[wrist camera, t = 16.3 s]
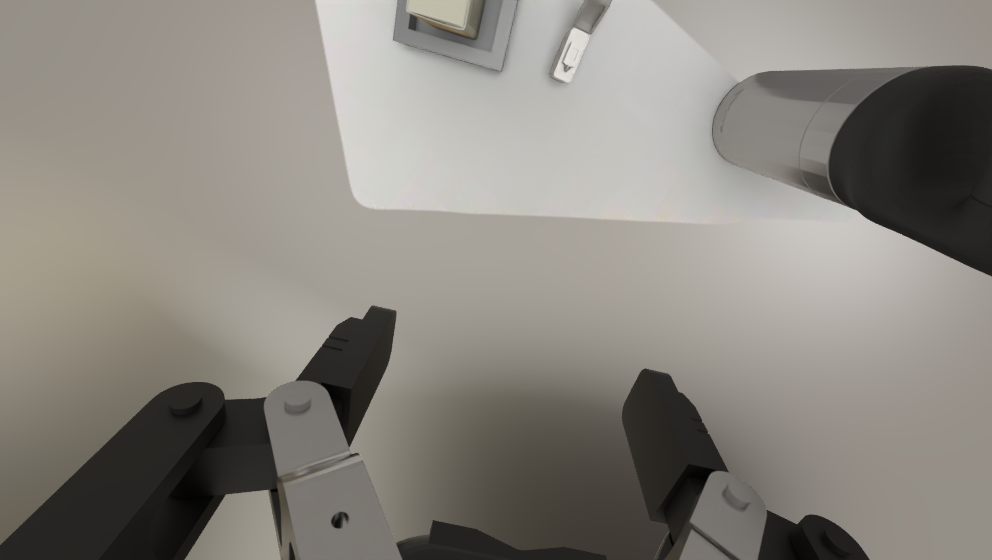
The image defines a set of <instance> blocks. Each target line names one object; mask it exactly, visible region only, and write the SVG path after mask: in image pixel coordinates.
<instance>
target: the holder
mask: <svg viewBox="0 0 992 560" xmlns="http://www.w3.org/2000/svg"><path fill="white" fill-rule="evenodd" d="M517 3H518V0H486V1H485V6H484V11H483V16H482V20H481V25H480V29H479V34H478V38H477V39H476V40H473V39H469V38H466V37H462V36H459V35H456V34H453V33H450V32H447V31H444V30H441V29H438V28H435V27H433V26H432V25H430V24H428V23H426V22H424V21H422V20H420V19H419V18H417V17H415V16H413V15H411V14H409V13H408V12H407V11H406V4H407V0H398V2H397V10H396V19H395V27H394V35H393V40H394V41H397V42H400V43H403V44H406V45H410V46H413V47H416V48H420V49H423V50H427V51H430V52H434V53H437V54H441V55H444V56H448V57H451V58H455V59H458V60H462V61H465V62H469V63H472V64H476V65H479V66H483V67H486V68H490V69H493V70H497V71H500V72H502V67H503V63H504V59H505V54H506V50H507V46H508V42H509V37H510V33H511V29H512V24H513V20H514V16H515V11H516V7H517Z"/></svg>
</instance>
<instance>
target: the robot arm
mask: <svg viewBox="0 0 992 560" xmlns="http://www.w3.org/2000/svg"><path fill="white" fill-rule="evenodd" d="M713 140H714V143H715V147H716V149H717V150H718V152H719V154H720V155H721V156H722V157H723V158H724V159H725V160H727V161H729V162H730V163H732V164H735V165H737V166H740V167H743V168H745V169H748V170H750V171H753V172H755V173H758V174H761V175H763V176H766V177H769V178H771V179H774V180H777V181H779V182H782V183H785V184H787V185H790V186H793V187H795V188H798V189H801V190H803V191H806V192H809V193H811V194H814V195H817V196H819V197H822V198H825V199H827V200H831V201H833V202H836V203H839V204H841V205H844V206H847V207H849V208H852V209H855V210H857V211H858V212H859V213H860V214H862V215H863V216H864V217H865V218H867V219H869V220H870V221H872V222H874V223H876V224H879V225H881V226H883V227H886V228H888V229H890V230H893V231H895V232H897V233H900V234H902V235H904V236H906V237H909V238H911V239H913V240H915V241H917V242H919V243H922V244H924V245H926V246H928V247H930V248H932V249H934V250H936V251H938V252H940V253H942V254H944V255H946V256H949V257H951V258H953V259H955V260H957V261H959V262H961V263H963V264H965V265H967V266H969V267H972V268H974V269H976V270H978V271H981V272H983V273H985V274H988V275H990V276H992V70H991V69H988V68H984V67H978V66H931V67H901V68H900V67H899V68H872V69H837V70H804V71H768V72H763V73H758V74H756V75H753V76H750V77H748V78H747V79H745V80H743V81H742V82H740V83H739V84H738V85H737V86H735V87H734V88H733V89H732V90H731V91H730V92H729V93H728V95H727V96H726V97H725V98H724V99H723V101H722V103H721V105H720V106H719V108H718V110H717V113H716V116H715V119H714V124H713ZM395 322H396V311H395V310H390V309H386V308H382V307H377V306H371V307H370V309H369V310H368V312H367V313H366V315H365V317H364V318H363V319H362V320H361V319H357V318H353V317H350V318H349V319H347V320H345V321H343V322H342V323H340V324H338V325H337V326H336V327H335V329H334V330H333V331H332V333H331V334H330V335H329V338H327V339H326V341H325V342H324V344H323V345H322V347H321V348H320V349H319V350H318V351H317V353H316V354H315V356H314V357H313V358H312V359H311V361H310V362H309V363H308V365H307V366H306V367H305V369H304V370H303V372H302V373H301V374H300V375H299V377H298V378H297V380H296V381H294V382H289V383H286V384H284V385H281V386H279V387H277V388H276V389H274V390H273V391H272V392H271V393H270V394H269V395H268V397H264V398H257V399H234V400H225V398H224V393H223V391H222V390H221V389H220V388H219V387H217V386H216V385H213V384H210V383H205V382H192V383H184V384H180V385H177V386H174V387H171V388H169V389H167V390H165V391H163V392H161V393H160V394H158V395H157V396H155V398H153V399H152V400H151V401H150V402H149V403H148V404H147V405H146V406H145V407H143V408H142V409H141V410H140V412H138V413H137V414H136V415H135V416H134V417H133V418H132V419H131V420H130V421H129V422H128V423H127V424H126V425H125V426H124V427H123V428H122V429H121V430H120V431H119V432H118V433H116V434H115V435H114V436H113V437H112V438H111V439H110V440H109V441H108V442H107V443H106V444H105V445H104V446H103V447H102V448H101V449H100V450H99V451H98V452H97V453H96V454H95V455H94V456H93V457H91V458H90V459H89V460H88V461H87V462H86V463H85V464H84V465H83V466H82V467H81V468H80V469H79V470H78V471H77V472H76V473H75V474H74V475H73V476H72V477H71V478H70V479H69V480H68V481H67V482H66V483H64V484H63V485H62V486H61V487H60V488H59V489H58V490H57V491H56V492H55V493H54V494H53V495H52V496H51V497H50V498H49V499H48V500H47V501H46V502H45V503H44V504H43V505H42V506H41V507H39V508H38V509H37V510H36V511H35V512H34V513H33V514H32V515H31V516H30V517H29V518H28V519H27V520H26V521H25V522H24V523H23V524H22V525H21V526H20V527H19V528H18V529H17V530H16V531H15V532H13V533H12V534H11V535H10V536H9V537H8V538H7V539H6V540H5V541H4V542H3V543H2V544H1V545H0V560H184V559H185V558H186V556H187V555H188V553H189V552H190V550H191V549H192V547H193V545H194V544H195V542H196V541H197V539H198V538H199V536H200V534H201V533H202V531H203V530H204V528H205V526H206V525H207V523H208V522H209V520H210V518H211V517H212V516H213V514H214V512H215V511H216V509H217V508H218V506H219V504H220V503H221V501H222V500H223V498H224V497H225V495H226V494H233V493H242V492H251V491H261V490H268V491H269V497H270V502H271V508H272V514H273V519H274V524H275V529H276V535H277V541H278V545H279V551H280V557H281V560H606V556H605V555H600V554H595V553H591V552H586V551H581V550H576V549H571V548H566V547H560V548H548V549H537V550H525V551H524V550H518V549H515V548H513V547H511V546H509V545H507V544H505V543H503V542H501V541H499V540H497V539H495V538H493V537H491V536H489V535H487V534H485V533H483V532H481V531H479V530H477V529H473V528H468V527H463V526H458V525H453V524H448V523H444V522H439V521H434V520H433V523H432V527H431V530H430V534H429V535H423V536H417V537H412V538H408V539H405V540H403V541H399V542H397V543H396V542H395V540H394V537H393V535H392V533H391V530H390V527H389V525H388V522H387V520H386V517H385V515H384V512H383V510H382V507H381V505H380V502H379V499H378V497H377V495H376V492H375V489H374V487H373V484H372V482H371V479H370V477H369V474H368V472H367V469H366V467H365V464H364V462H363V459H362V458H361V456H360V455H359V454H358V453H355V454H352V453H351V451H350V449H349V447H350V445H351V443H352V441H353V439H354V437H355V434H356V432H357V430H358V428H359V426H360V424H361V421H362V419H363V417H364V415H365V413H366V411H367V409H368V407H369V404H370V402H371V400H372V398H373V396H374V394H375V392H376V390H377V387H378V385H379V383H380V381H381V379H382V377H383V374H384V372H385V370H386V368H387V365H388V362H389V359H390V355H391V350H392V343H393V336H394V329H395ZM622 422H623V426H624V429H625V433H626V436H627V440H628V443H629V447H630V450H631V454H632V458H633V461H634V464H635V468H636V471H637V475H638V478H639V482H640V485H641V489H642V493H643V496H644V500H645V503H646V507H647V510H648V514H649V517H650V520H651V521H656V522H661V523H666V524H667V525H668V528H669V532H668V533H667V535H666V536H665V538H664V540H663V542H662V544H661V546H660V548H659V550H658V553H657V554H656V556H655V559H654V560H869V558H868V557H867V555H866V554H865V552H864V551H863V550H862V548H861V547H860V545H859V544H858V543H857V542H856V541H855V540H854V539H853V538H852V537H851V536H850V535H849V534H848V533H847V532H846V531H845V530H843V529H842V528H841V527H839V526H838V525H836V524H835V523H833V522H832V521H830V520H828V519H826V518H823V517H821V516H818V515H807V516H805V517H804V518H803V519H802V520H801V521H800V522H799V523H798V524H795V523H793V522H791V521H788V520H787V519H785V518H783V517H780V516H778V515H776V514H774V513H772V512H770V511H768V510H766V507H765V505H764V503H763V501H762V499H761V498H760V496H759V495H758V494H757V493H756V491H755V490H754V489H753V488H752V487H751V486H750V485H748V484H747V483H746V482H745V481H743V480H742V479H740V478H738V477H737V476H735V475H733V474H730V473H729V472H728V470H727V468H726V466H725V464H724V462H723V460H722V458H721V456H720V454H719V452H718V450H717V448H716V447H715V445H714V443H713V441H712V439H711V437H710V435H709V434H708V431H707V429H706V427H705V425H704V423H702V419H701V417H700V415H699V414H698V412H697V410H696V408H695V406H694V405H693V404H692V403H691V402H690V401H689V400H688V398H687V397H686V396H685V395H684V394H683V393H680V392H678V390H677V388H676V386H675V384H674V382H673V380H672V378H671V376H670V375H669V374H667V373H663V372H658V371H654V370H649V369H643V370H642V371H641V372H640V374H639V376H638V378H637V380H636V382H635V384H634V385H633V387H632V389H631V391H630V393H629V395H628V397H627V399H626V401H625V403H624V406H623V411H622Z"/></svg>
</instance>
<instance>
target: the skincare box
mask: <svg viewBox="0 0 992 560" xmlns="http://www.w3.org/2000/svg"><path fill="white" fill-rule="evenodd" d="M485 1H486V0H407V4H406V11H407V12H408V13H409V14H411V15H413V16H415V17H417V18H419V19H420V20H422V21H424V22H426V23H428V24H430V25H432V26H433V27H435V28H438V29H441V30H444V31H447V32H450V33H453V34H456V35H459V36H462V37H466V38H469V39H473V40H476V39H477V38H478V34H479V29H480V25H481V20H482V16H483V11H484V6H485Z"/></svg>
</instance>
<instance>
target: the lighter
mask: <svg viewBox="0 0 992 560" xmlns="http://www.w3.org/2000/svg"><path fill="white" fill-rule="evenodd" d="M611 1H612V0H585V1H584V3H583V4H582V6H581V8H580V10H579V12H578V15H577V17H576V20H575V23H574V28H573V29H571V30H570V31H569V32H567V33H566V34H565V37H564V39H563V42H562V44H561V47H560V49H559V52H558V54H557V56H556V59H555V61H554V64H553V66H552V69H551V71H550V74H549V76H550V77H551V78H553V79H555V80H558V81H560V82H562V83H569V82H571V80H572V78H573V75H574V73H575V71H576V68H577V66H578V64H579V61H580V59H581V57H582V54H583V52H584V50H585V47H586V45H587V43H588V40H589V38H590V36H589V34H592V33H593V31H594V30H595V28H596V26H597V25H598V23H599V22H600V20H601V19H602V17H603V16H604V14H605V13H606V11H607V10H608V8H609V7H610V4H611Z"/></svg>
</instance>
